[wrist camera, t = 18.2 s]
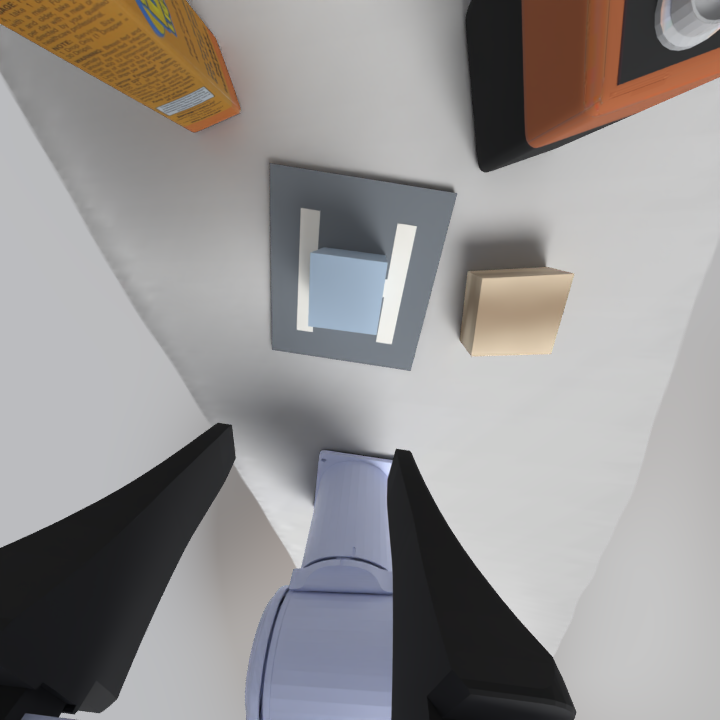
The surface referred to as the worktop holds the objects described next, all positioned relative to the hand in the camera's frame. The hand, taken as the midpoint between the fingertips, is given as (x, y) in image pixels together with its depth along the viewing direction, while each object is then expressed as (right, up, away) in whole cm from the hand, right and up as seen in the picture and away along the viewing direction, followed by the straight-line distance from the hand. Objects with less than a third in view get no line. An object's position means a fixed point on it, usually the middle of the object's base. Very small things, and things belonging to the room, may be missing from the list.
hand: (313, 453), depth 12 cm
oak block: (+12, +8, +7) cm, 16 cm away
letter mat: (+2, +10, +7) cm, 12 cm away
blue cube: (+2, +9, +6) cm, 11 cm away
